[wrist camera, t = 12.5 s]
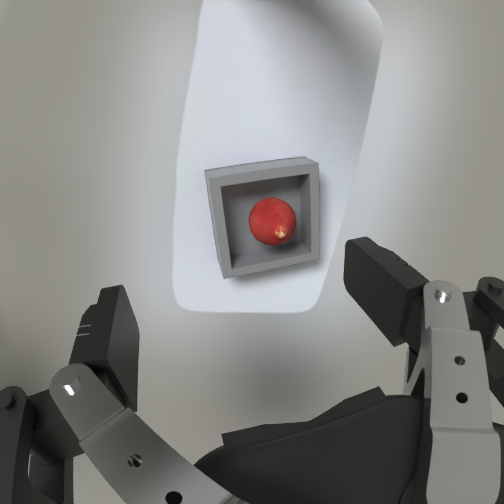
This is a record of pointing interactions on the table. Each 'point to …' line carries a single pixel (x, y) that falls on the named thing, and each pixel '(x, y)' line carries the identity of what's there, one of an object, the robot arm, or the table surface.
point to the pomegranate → (272, 221)
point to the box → (243, 200)
